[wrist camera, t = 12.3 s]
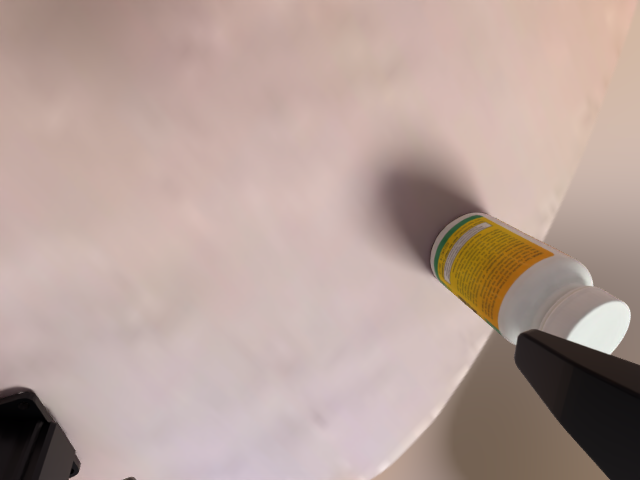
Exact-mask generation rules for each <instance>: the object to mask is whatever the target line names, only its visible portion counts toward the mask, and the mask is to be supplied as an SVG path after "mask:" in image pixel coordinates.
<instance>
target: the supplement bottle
mask: <svg viewBox="0 0 640 480" xmlns="http://www.w3.org/2000/svg"><path fill="white" fill-rule="evenodd" d="M430 263H431V268H432V271H433V274H434V275H435V277H436V278H437V279H438V280H439V281H440V282H441V283H442V284H443V285H444V286H445V287H446V288H447V289H448V290H450V291H451V292H452V293H453V294H454V295H456V296H457V297H458V298H459V299H460V300H461V301H462V302H464V303H465V304H466V305H467V306H468V307H469V308H471V309H472V310H473V311H474V312H475V313H476V314H478V315H479V316H480V317H481V318H482V319H483V320H484V321H486V322H487V323H488V324H489V325H490V326H491V327H492V328H494V329H495V330H496V331H497V332H498V333H499V334H501V335H502V336H503V337H504V338H505V339H506V340H508V341H509V342H510V343H512V344H514V345H516V343H517V337H518V335H519V334H520V333H522V332H525V331H527V330H530V329H538V330H541V331H544V332H546V333H549V334H552V335H555V336H558V337H561V338H564V339H567V340H569V341H572V342H575V343H578V344H581V345H584V346H587V347H589V348H592V349H595V350H598V351H601V352H604V353H607V354H609V355H610V354H611V353H612V352H613V351H614V349H615V348H616V347H617V346H618V344H619V343H620V342H621V340H622V339H623V337H624V335H625V333H626V332H627V329H628V326H629V323H630V317H631V316H630V309H629V307H628V306H627V304H626V303H624V302H623V301H621V300H620V299H618V298H616V297H615V296H613V295H611V294H609V293H607V292H606V291H605V290H603V289H601V288H598V287H594V286H593V281H592V278H591V275H590V273H589V271H588V270H587V268H586V267H585V266H584V265H583V264H582V263H580V262H579V261H578V260H576V259H574V258H572V257H571V256H569V255H567V254H565V253H563V252H561V251H559V250H557V249H555V248H553V247H551V246H549V245H547V244H545V243H543V242H541V241H539V240H537V239H535V238H533V237H531V236H529V235H527V234H525V233H523V232H521V231H519V230H518V229H516V228H514V227H512V226H510V225H508V224H506V223H504V222H502V221H500V220H498V219H497V218H494V217H492V216H490V215H488V214H484V213H469V214H466V215H463V216H461V217H459V218H457V219H456V220H454V221H452V222H451V223H449V224H448V225H447V226H446V227H445V228H444V229H443V230H442V231H441V232H440V234H439V235H438V237H437V238H436V240H435V242H434V245H433V248H432V251H431V258H430Z"/></svg>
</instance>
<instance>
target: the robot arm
mask: <svg viewBox="0 0 640 480" xmlns="http://www.w3.org/2000/svg"><path fill="white" fill-rule="evenodd" d="M514 359H515V363H516V365H517V367H518V369H519V370H520V371H521V373H522V374H523V375H524V376H525V378H526V379H527V380H528V382H529V383H530V385H531V386H532V387H533V388H534V390H535V391H536V392H537V394H538V395H539V396H540V398H541V399H542V401H543V402H544V403H545V404H546V406H547V407H548V409H549V410H550V411H551V413H552V414H553V415H554V416H555V418H556V419H557V420H558V421H559V423H560V424H561V425H562V426H563V427H564V429H565V430H566V431H567V432H568V433H569V434H570V435H571V437H572V438H573V439H574V440H575V441H576V442H577V443H578V444H579V445H580V447H581V448H582V449H583V450H584V451H585V452H586V453H587V454H588V456H589V457H590V458H591V459H592V460H593V461H594V462H595V463H596V464H597V466H598V467H599V468H600V469H601V470H602V471H603V472H604V473H605V475H606V476H607V477H608V478H609V479H610V480H640V365H638V364H635V363H632V362H629V361H627V360H623V359H621V358H618V357H615V356H612V355H609V354H607V353H604V352H601V351H598V350H595V349H592V348H589V347H587V346H584V345H581V344H578V343H575V342H572V341H569V340H567V339H564V338H561V337H558V336H555V335H552V334H549V333H546V332H544V331H541V330H538V329H530V330H527V331H525V332H522V333H520V334H519V335H518V337H517V343H516V349H515V356H514ZM22 402H28V403H26V404H25V403H22ZM80 465H81V463H80V461H79V459H78V458H77V456H76V455H75V449H74V448H73V446H72V445H71V443H70V442H69V440H68V438H67V437H66V435H65V434H64V432H63V431H62V429H61V428H60V426H59V425H58V423H56V422H55V421H53V420H52V418H51V417H50V415H49V414H48V412H47V411H46V409H45V408H44V406H43V404H42V403H41V401H40V400H39V398H38V397H37V396H36V395H35V394H33V393H30V392H24V393H20V394H17V395H13V396H10V397H7V398H3V399H0V480H69V478H71V477H73V476H75V475H77V474H78V473H79V469H80ZM123 480H136V479H135V478H134V477H129V478H126V479H123Z"/></svg>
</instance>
